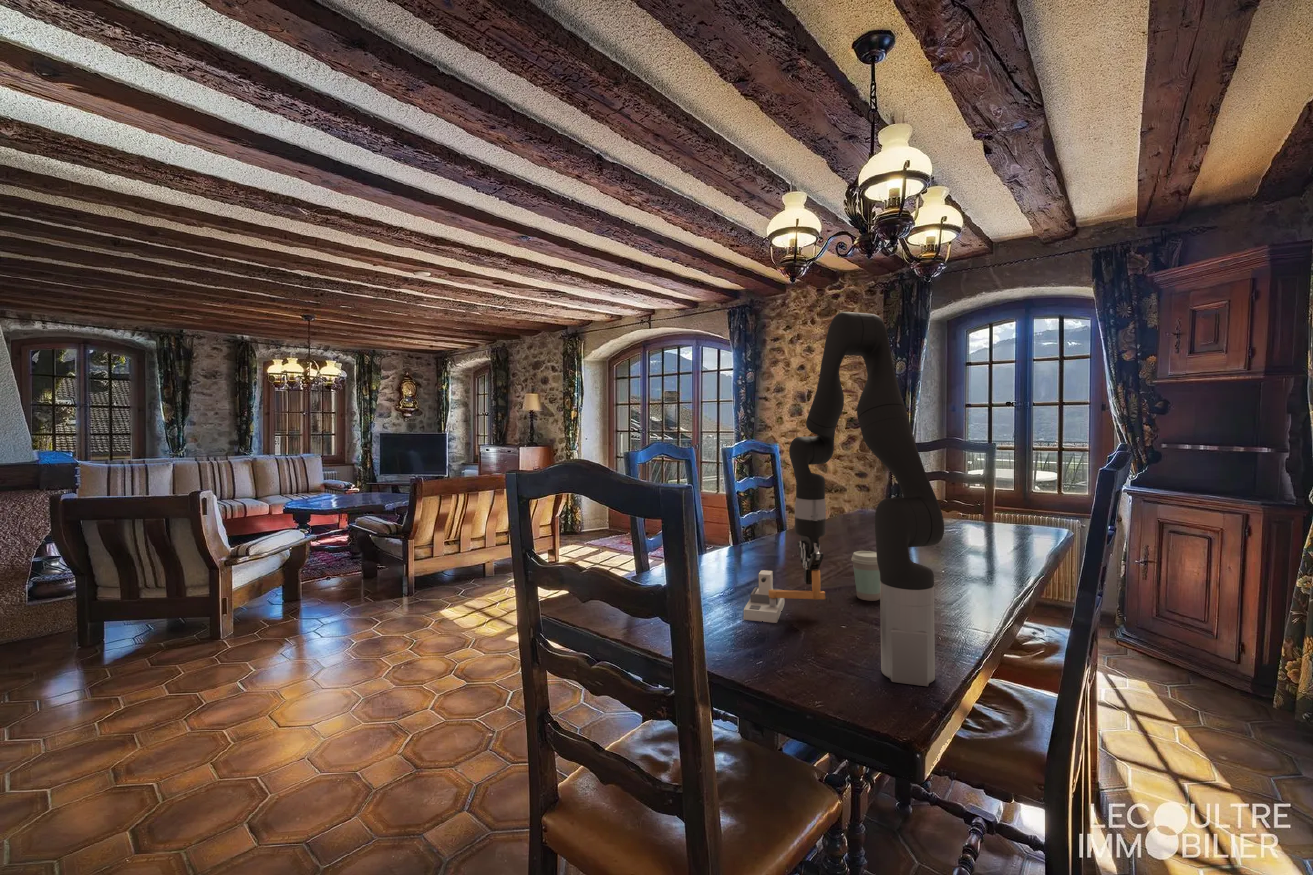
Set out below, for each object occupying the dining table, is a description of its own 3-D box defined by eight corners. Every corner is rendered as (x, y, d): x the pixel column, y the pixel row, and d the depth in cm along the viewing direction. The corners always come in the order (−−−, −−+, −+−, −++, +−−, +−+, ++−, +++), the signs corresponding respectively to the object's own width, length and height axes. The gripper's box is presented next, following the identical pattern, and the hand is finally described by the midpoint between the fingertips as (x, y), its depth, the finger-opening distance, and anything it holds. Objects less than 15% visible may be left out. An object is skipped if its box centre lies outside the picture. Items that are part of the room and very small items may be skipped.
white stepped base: (776, 622, 132) (776, 604, 132) (743, 619, 134) (743, 601, 134) (784, 604, 146) (784, 587, 146) (754, 601, 148) (754, 584, 148)
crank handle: (768, 598, 136) (768, 570, 135) (768, 595, 138) (768, 568, 137) (825, 599, 134) (825, 571, 133) (824, 597, 135) (823, 569, 135)
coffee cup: (887, 595, 152) (887, 552, 151) (881, 604, 144) (881, 558, 144) (855, 591, 156) (855, 549, 156) (848, 599, 149) (847, 555, 149)
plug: (773, 605, 137) (773, 577, 137) (753, 603, 139) (753, 575, 139) (777, 597, 143) (776, 570, 143) (757, 595, 145) (757, 569, 145)
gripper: (787, 511, 144) (786, 575, 145) (804, 521, 131) (803, 592, 132) (815, 510, 145) (814, 575, 146) (835, 520, 132) (834, 591, 132)
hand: (809, 583), depth 139 cm, fingers closed
